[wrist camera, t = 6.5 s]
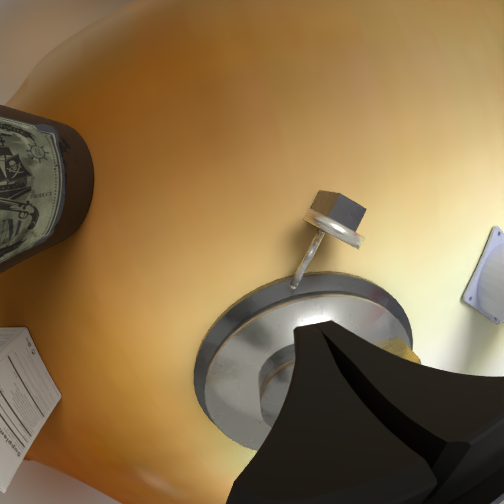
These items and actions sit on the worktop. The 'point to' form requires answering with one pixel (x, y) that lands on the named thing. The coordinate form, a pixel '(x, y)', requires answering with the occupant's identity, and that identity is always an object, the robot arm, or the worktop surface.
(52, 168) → the olive oil
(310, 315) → the turntable
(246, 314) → the turntable base
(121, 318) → the worktop surface
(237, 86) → the worktop surface
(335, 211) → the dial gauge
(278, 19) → the worktop surface
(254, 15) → the worktop surface
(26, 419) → the supplement box
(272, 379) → the cover
